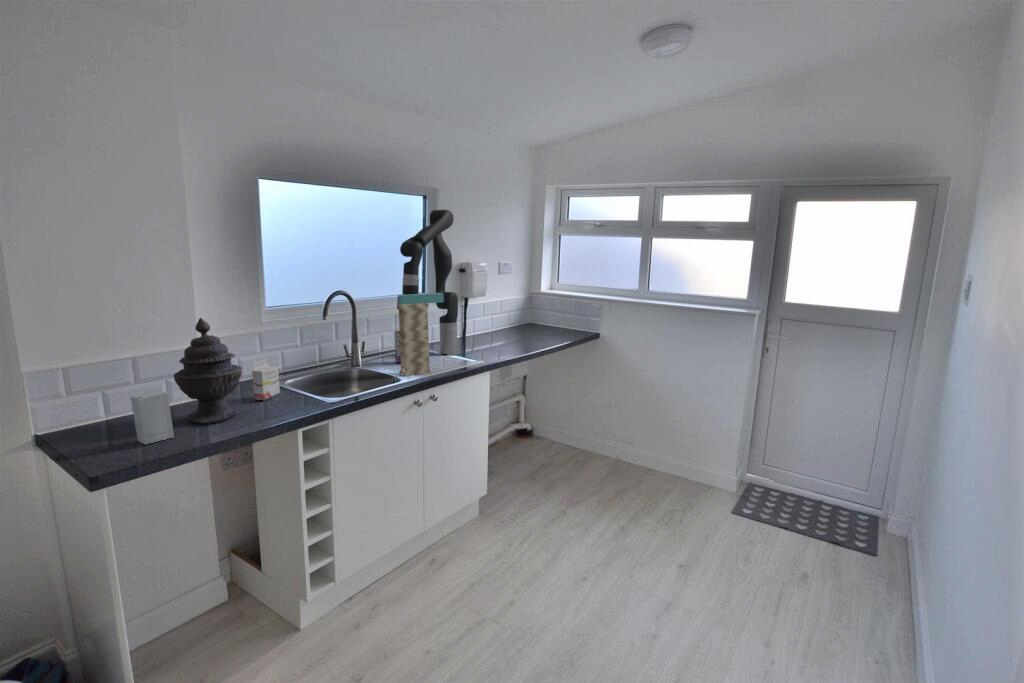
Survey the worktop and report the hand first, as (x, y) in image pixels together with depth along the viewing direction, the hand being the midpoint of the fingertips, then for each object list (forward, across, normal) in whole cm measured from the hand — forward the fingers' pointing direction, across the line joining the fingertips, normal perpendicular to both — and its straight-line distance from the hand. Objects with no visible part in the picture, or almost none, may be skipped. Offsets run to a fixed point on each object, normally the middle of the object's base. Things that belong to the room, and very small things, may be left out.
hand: (409, 319), depth 253 cm
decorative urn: (+34, +9, +88) cm, 95 cm away
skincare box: (+37, +2, +110) cm, 116 cm away
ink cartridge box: (+31, +13, +65) cm, 73 cm away
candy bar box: (+22, +9, -10) cm, 26 cm away
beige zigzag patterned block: (+24, -9, +6) cm, 27 cm away
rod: (-8, -12, +6) cm, 15 cm away
